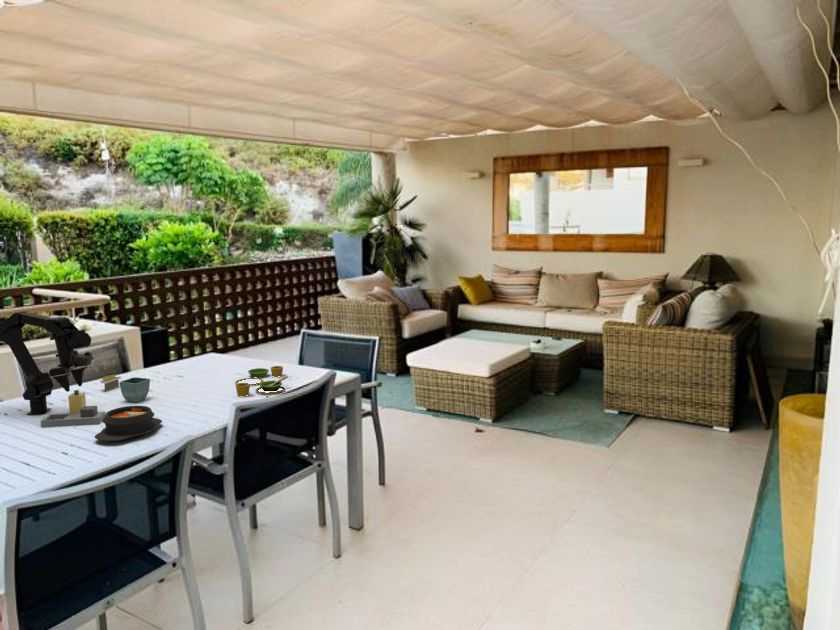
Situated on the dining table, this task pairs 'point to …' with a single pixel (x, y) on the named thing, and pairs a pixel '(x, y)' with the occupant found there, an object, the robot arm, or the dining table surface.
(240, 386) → the tableware set
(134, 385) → the flower pot
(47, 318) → the robot arm
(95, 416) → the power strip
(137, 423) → the casserole
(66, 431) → the dining table surface
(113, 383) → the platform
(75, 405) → the plug
